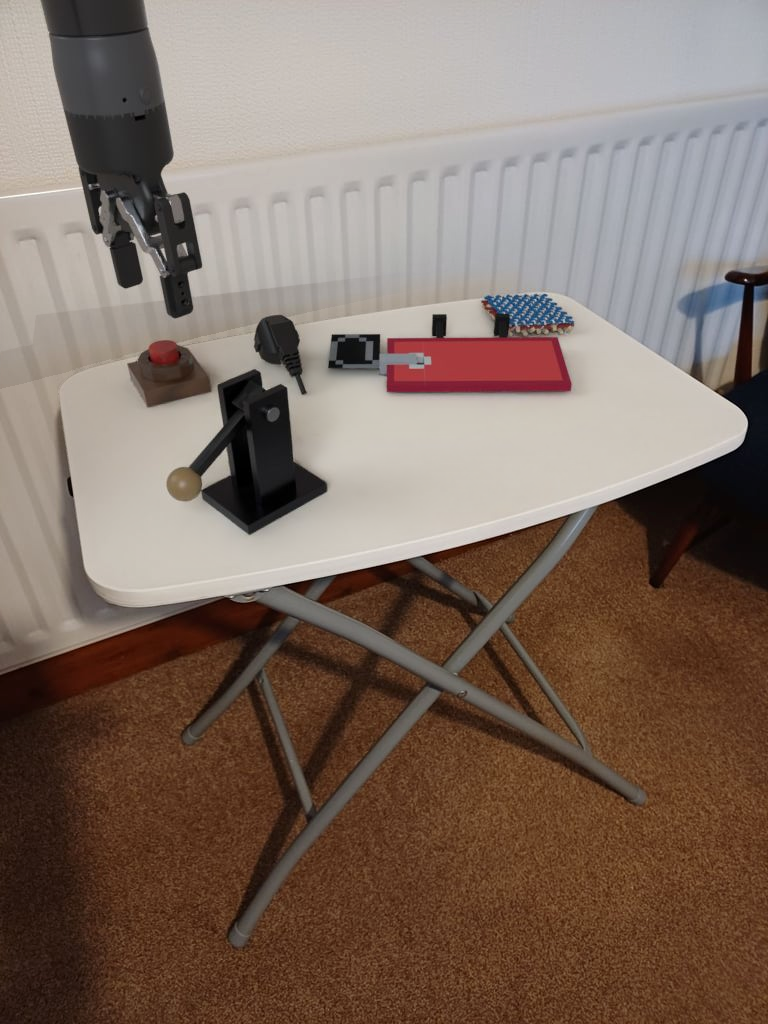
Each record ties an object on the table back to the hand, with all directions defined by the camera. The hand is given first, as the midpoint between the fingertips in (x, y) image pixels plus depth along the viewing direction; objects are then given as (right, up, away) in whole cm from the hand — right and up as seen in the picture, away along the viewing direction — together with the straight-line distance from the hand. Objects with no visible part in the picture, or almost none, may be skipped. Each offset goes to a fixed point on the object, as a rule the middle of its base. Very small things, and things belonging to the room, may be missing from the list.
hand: (155, 299), depth 70 cm
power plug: (+8, -1, +31) cm, 32 cm away
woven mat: (+40, +8, +42) cm, 59 cm away
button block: (-6, -3, +28) cm, 29 cm away
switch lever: (+6, -13, +4) cm, 15 cm away
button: (-6, 0, +26) cm, 27 cm away
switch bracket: (+8, -17, +11) cm, 22 cm away
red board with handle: (+28, 0, +32) cm, 43 cm away
